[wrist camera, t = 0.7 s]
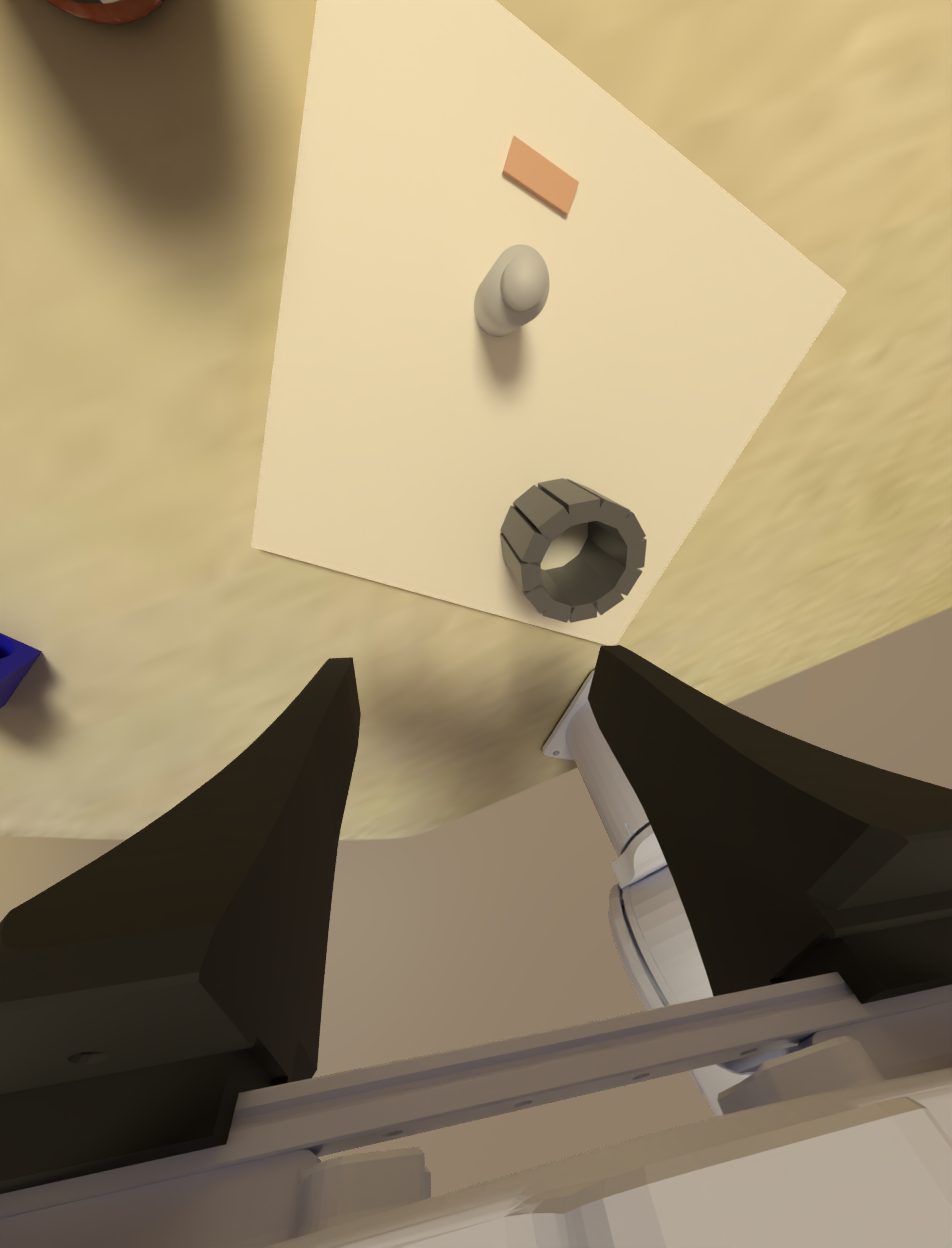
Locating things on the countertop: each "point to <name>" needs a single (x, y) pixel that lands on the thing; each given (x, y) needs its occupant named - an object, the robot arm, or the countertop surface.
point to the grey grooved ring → (592, 573)
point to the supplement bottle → (108, 9)
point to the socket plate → (567, 376)
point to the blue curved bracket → (13, 665)
